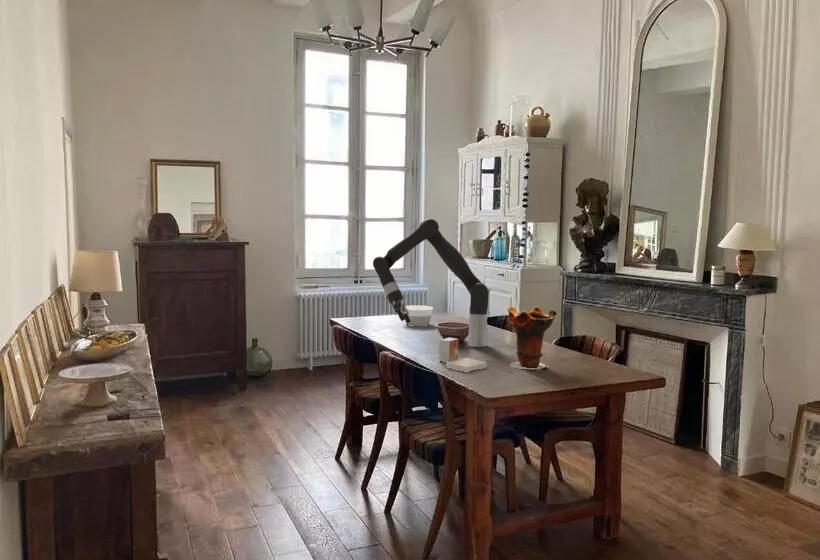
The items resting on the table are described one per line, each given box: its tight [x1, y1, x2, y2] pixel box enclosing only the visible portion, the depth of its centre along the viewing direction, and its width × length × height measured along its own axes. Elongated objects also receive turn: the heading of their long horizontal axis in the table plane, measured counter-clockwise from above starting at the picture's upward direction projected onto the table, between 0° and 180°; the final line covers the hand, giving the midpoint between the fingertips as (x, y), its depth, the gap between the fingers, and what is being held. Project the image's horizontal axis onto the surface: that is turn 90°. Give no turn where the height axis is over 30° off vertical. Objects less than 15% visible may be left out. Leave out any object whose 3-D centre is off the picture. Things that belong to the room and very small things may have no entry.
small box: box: [438, 337, 460, 363], centre depth 307 cm, size 8×6×10 cm
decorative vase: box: [507, 306, 558, 371], centre depth 300 cm, size 21×23×28 cm
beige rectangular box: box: [445, 357, 488, 373], centre depth 295 cm, size 14×12×2 cm
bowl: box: [404, 304, 434, 327], centre depth 403 cm, size 19×19×11 cm
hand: (406, 321), depth 324 cm, fingers open, 8 cm apart
